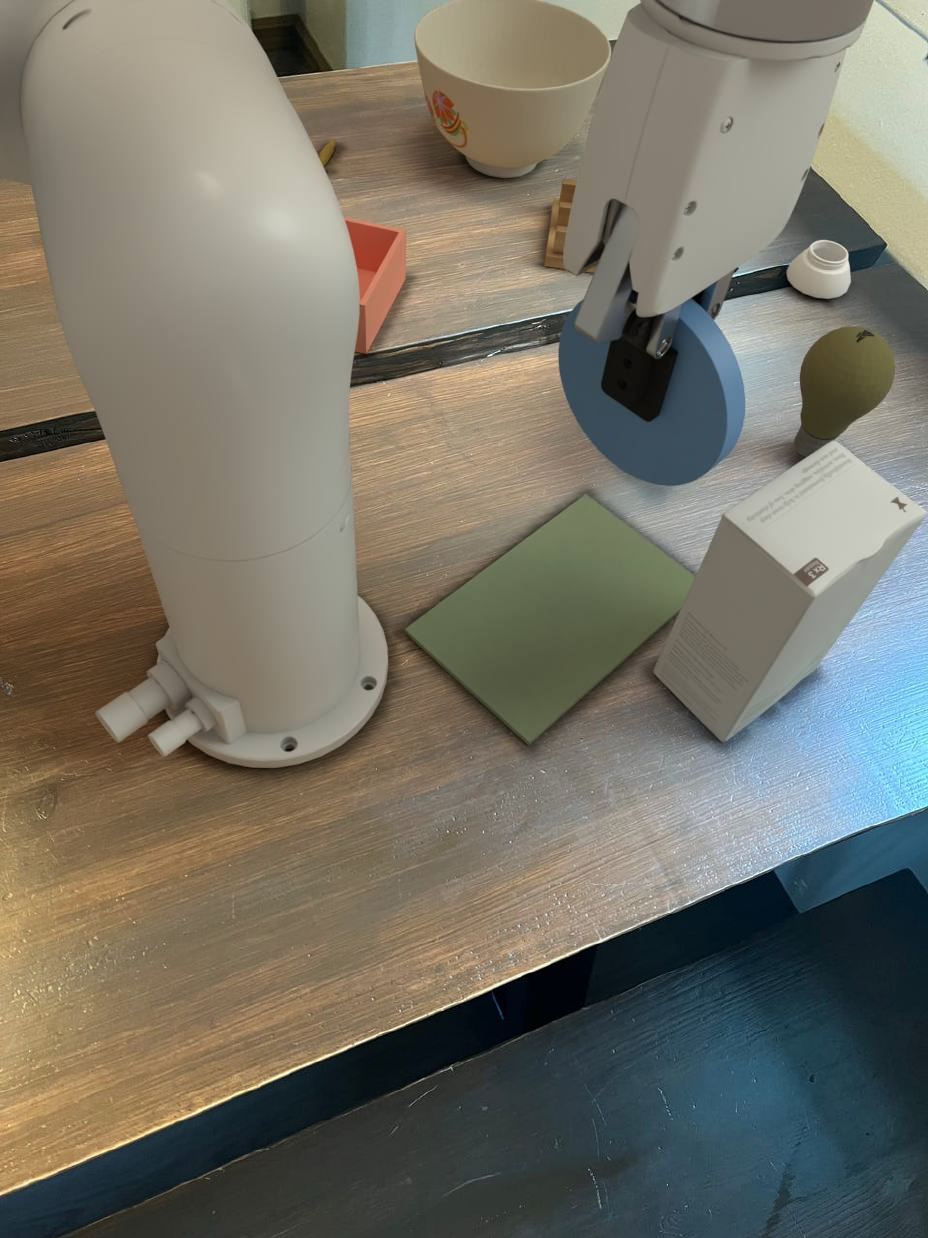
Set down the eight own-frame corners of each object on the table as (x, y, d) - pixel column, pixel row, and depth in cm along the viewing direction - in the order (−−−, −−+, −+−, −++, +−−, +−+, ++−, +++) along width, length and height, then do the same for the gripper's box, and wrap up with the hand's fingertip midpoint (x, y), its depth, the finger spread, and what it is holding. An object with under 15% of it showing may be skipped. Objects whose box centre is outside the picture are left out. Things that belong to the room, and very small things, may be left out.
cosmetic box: (742, 608, 58) (834, 428, 46) (819, 677, 56) (938, 505, 44) (645, 678, 55) (716, 504, 43) (722, 754, 53) (821, 591, 40)
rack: (680, 284, 77) (689, 251, 74) (544, 266, 77) (549, 232, 75) (680, 225, 82) (689, 192, 79) (552, 207, 82) (557, 174, 79)
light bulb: (780, 414, 69) (833, 296, 61) (856, 444, 67) (920, 327, 59) (756, 462, 66) (808, 344, 58) (834, 494, 64) (899, 378, 56)
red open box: (405, 278, 75) (407, 156, 67) (366, 353, 70) (363, 231, 62) (190, 230, 77) (167, 106, 69) (136, 299, 71) (104, 174, 63)
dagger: (301, 212, 79) (278, 202, 79) (300, 221, 80) (277, 211, 80) (345, 141, 85) (323, 132, 84) (343, 150, 85) (322, 141, 85)
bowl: (394, 119, 89) (394, 0, 80) (557, 106, 92) (573, -10, 84) (437, 218, 80) (442, 96, 72) (615, 200, 83) (640, 81, 75)
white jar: (826, 261, 80) (774, 269, 79) (840, 228, 78) (786, 237, 76) (858, 297, 77) (804, 306, 76) (873, 265, 75) (817, 274, 74)
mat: (528, 745, 52) (529, 742, 52) (404, 632, 56) (404, 628, 56) (705, 588, 59) (707, 584, 59) (584, 497, 63) (585, 493, 63)
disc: (693, 522, 48) (756, 362, 39) (546, 415, 51) (574, 249, 43) (710, 508, 48) (775, 348, 40) (563, 403, 52) (595, 237, 44)
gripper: (802, -130, 36) (681, 291, 51) (513, -21, 29) (472, 427, 44) (983, -60, 33) (799, 363, 48) (711, 78, 26) (595, 521, 41)
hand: (643, 392), depth 46 cm, fingers closed on disc, 1 cm apart
